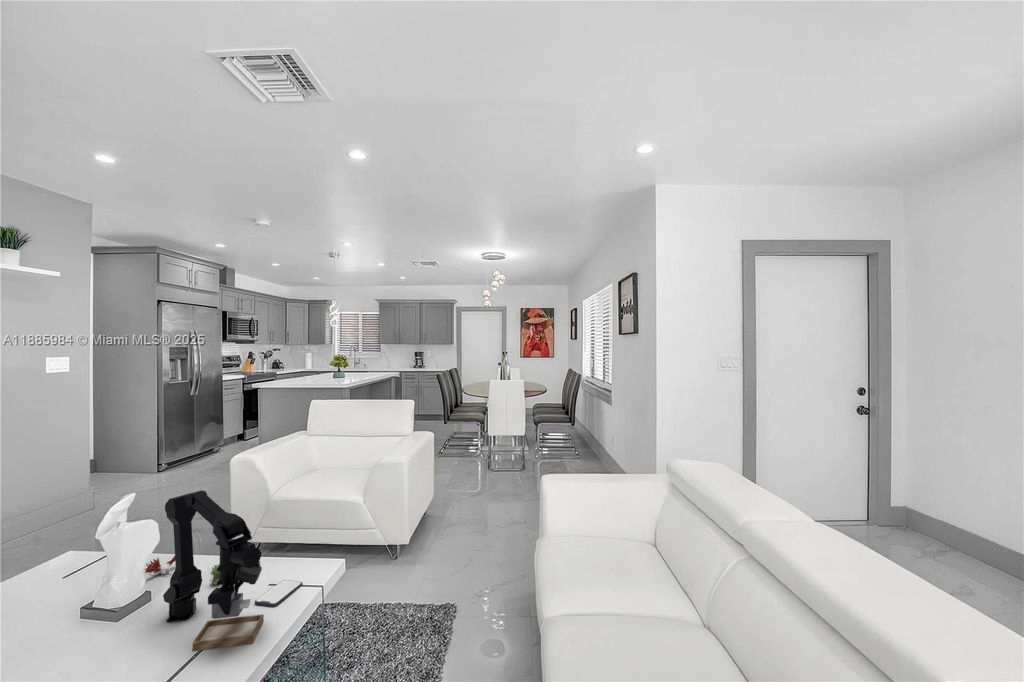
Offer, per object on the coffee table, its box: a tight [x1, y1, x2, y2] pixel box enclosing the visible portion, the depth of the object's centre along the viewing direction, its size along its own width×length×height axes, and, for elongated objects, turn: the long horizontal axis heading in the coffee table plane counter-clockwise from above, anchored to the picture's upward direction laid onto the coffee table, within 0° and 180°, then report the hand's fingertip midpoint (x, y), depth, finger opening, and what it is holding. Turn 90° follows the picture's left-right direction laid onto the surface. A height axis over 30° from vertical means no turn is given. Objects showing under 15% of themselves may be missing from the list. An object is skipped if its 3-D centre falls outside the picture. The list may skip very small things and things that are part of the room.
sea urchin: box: [203, 563, 220, 588], centre depth 174 cm, size 12×12×8 cm
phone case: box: [254, 579, 303, 608], centre depth 168 cm, size 9×2×16 cm
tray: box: [191, 614, 265, 652], centre depth 145 cm, size 16×11×2 cm
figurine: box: [144, 555, 175, 578], centre depth 182 cm, size 15×12×7 cm
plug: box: [211, 592, 252, 620], centre depth 145 cm, size 10×4×5 cm, turn 104°
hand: (229, 610), depth 145 cm, fingers closed on plug, 4 cm apart
